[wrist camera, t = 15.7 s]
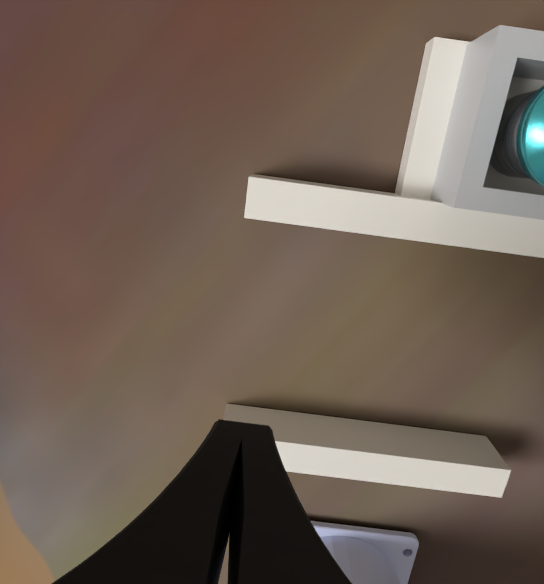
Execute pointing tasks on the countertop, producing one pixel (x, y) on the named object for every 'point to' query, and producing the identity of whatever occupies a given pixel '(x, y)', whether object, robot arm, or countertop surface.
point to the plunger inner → (521, 138)
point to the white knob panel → (426, 228)
